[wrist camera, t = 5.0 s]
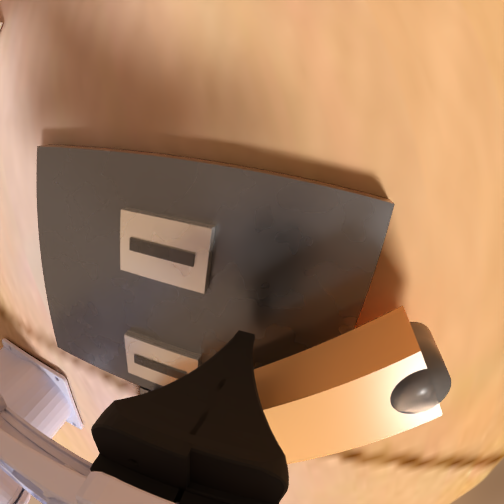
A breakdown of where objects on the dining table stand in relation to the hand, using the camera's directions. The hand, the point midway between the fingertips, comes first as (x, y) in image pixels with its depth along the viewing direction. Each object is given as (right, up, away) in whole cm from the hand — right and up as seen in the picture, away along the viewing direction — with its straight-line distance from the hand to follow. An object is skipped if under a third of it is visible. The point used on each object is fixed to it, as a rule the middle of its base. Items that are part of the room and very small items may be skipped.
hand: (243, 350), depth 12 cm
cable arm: (+1, -4, +2) cm, 4 cm away
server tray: (-4, 0, +4) cm, 6 cm away
